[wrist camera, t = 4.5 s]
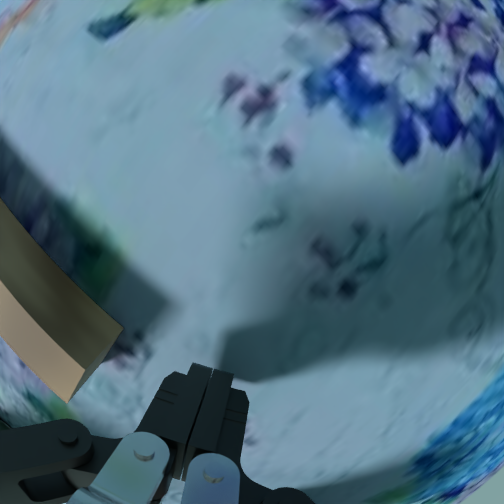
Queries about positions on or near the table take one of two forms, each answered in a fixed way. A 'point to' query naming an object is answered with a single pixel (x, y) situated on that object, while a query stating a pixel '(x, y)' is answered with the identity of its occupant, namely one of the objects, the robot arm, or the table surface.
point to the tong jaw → (48, 314)
